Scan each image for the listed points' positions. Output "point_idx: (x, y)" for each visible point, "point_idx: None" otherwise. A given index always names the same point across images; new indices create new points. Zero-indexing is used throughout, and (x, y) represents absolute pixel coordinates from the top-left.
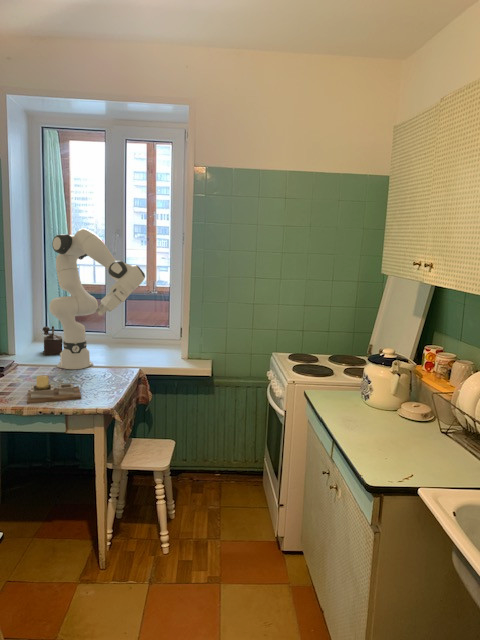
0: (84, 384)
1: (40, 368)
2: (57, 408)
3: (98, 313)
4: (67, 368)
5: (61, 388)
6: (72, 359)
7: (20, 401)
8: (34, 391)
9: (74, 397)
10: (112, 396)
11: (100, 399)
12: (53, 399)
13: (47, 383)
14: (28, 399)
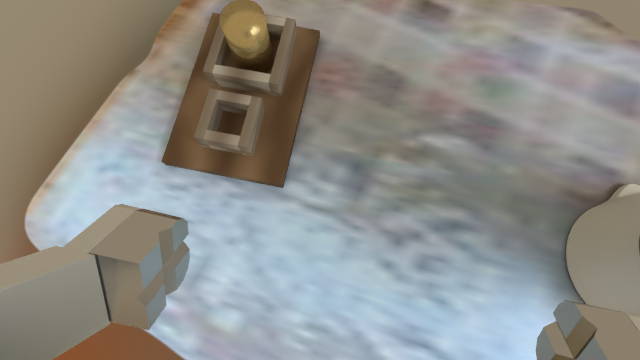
0: (327, 222)
1: (625, 122)
2: (124, 80)
3: (113, 211)
4: (582, 216)
5: (207, 97)
6: (612, 232)
7: None
8: None
9: (169, 140)
10: None
11: None
12: (190, 79)
13: (230, 47)
14: None
